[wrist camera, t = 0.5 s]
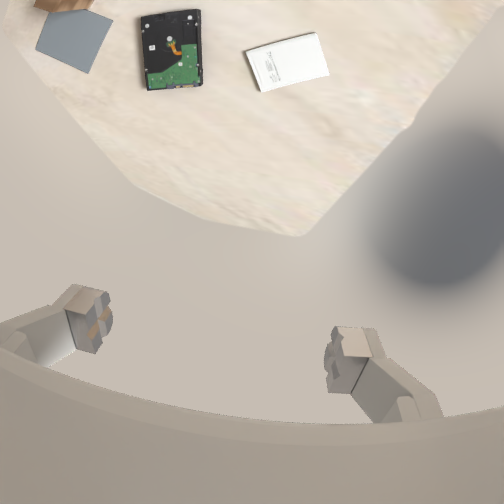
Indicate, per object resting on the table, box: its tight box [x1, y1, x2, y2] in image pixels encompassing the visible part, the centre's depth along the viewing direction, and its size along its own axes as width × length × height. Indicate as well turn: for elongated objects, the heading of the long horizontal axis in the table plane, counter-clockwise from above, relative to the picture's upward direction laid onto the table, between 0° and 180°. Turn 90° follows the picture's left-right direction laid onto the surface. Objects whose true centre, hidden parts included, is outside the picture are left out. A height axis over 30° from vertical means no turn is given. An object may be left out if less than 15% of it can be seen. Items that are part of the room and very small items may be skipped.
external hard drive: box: [246, 33, 330, 92], centre depth 45 cm, size 2×8×12 cm
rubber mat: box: [35, 9, 113, 74], centre depth 40 cm, size 12×16×1 cm
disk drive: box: [141, 9, 203, 91], centre depth 44 cm, size 10×3×15 cm
